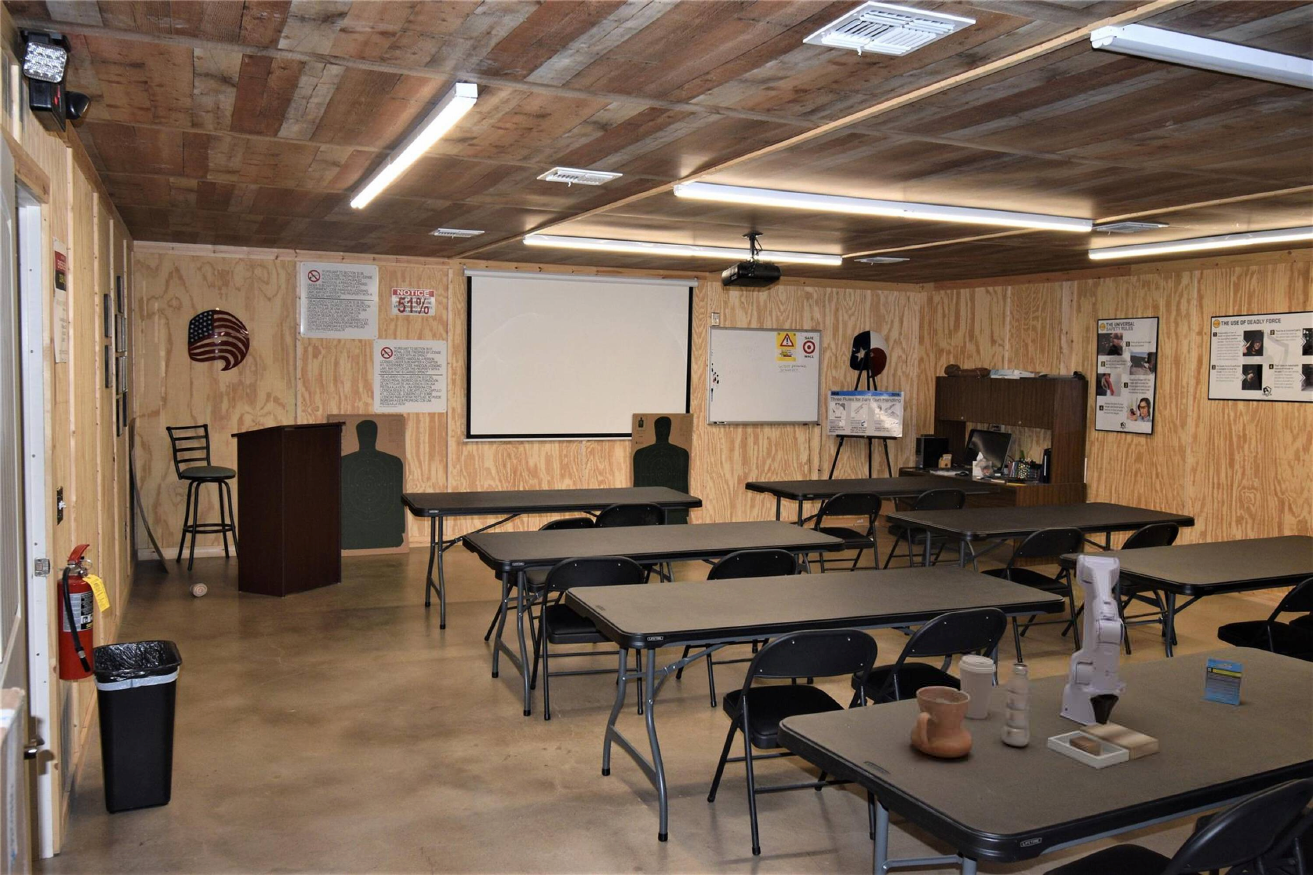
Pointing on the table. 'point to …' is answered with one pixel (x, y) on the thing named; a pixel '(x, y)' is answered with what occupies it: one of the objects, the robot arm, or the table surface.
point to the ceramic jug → (942, 723)
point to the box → (1106, 758)
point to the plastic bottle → (1017, 706)
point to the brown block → (1086, 745)
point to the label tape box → (1223, 681)
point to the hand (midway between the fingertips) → (1101, 723)
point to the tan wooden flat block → (1123, 738)
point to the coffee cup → (977, 683)
